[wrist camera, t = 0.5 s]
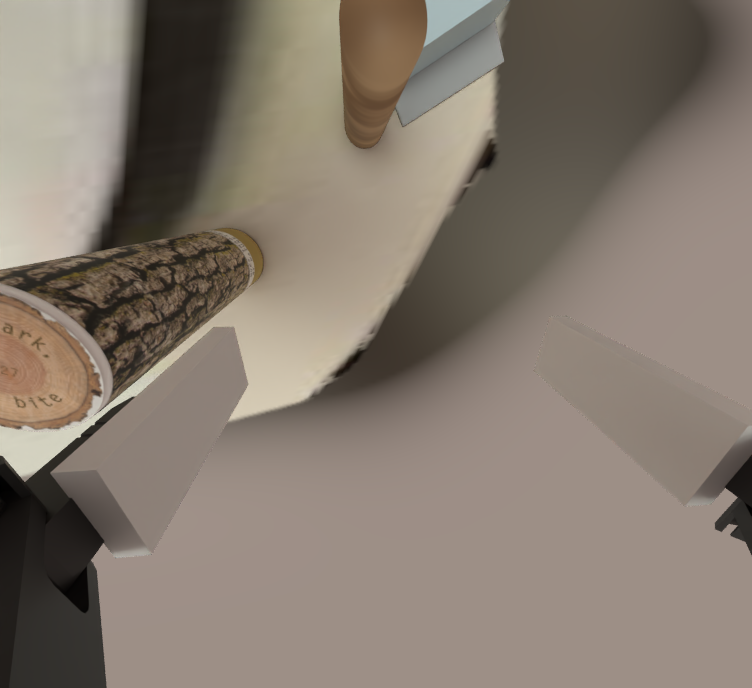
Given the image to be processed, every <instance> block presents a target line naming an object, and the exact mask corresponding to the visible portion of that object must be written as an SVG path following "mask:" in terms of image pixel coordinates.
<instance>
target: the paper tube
mask: <svg viewBox="0 0 752 688" xmlns="http://www.w3.org/2000/svg"><path fill="white" fill-rule="evenodd" d="M262 269H263V258H262V254H261V251H260V249H259V247H258V246H257V244H256V243H255V242H254V241H253V240H252V239H251V238H250V237H249V236H248V235H246V234H245V233H243V232H241V231H238V230H235V229H231V228H221V229H216V230H211V231H204V232H199V233H193V234H188V235H183V236H177V237H172V238H167V239H162V240H156V241H151V242H146V243H140V244H135V245H130V246H124V247H119V248H114V249H109V250H103V251H98V252H93V253H87V254H82V255H77V256H71V257H66V258H61V259H55V260H50V261H45V262H40V263H34V264H29V265H24V266H18V267H13V268H8V269H2V270H0V426H3V427H7V428H12V429H17V430H24V431H34V432H51V431H60V430H66V429H69V428H73V427H76V426H78V425H80V424H82V423H84V422H86V421H87V420H89V419H90V418H91V417H92V416H94V415H95V414H97V413H98V412H100V411H101V410H102V409H103V408H104V407H106V406H107V405H108V404H109V403H110V402H112V401H113V400H114V399H115V398H116V397H118V396H119V395H120V394H121V393H122V392H124V391H125V390H126V389H127V388H128V387H130V386H131V385H132V384H133V383H135V382H136V381H137V380H138V379H139V378H141V377H142V376H143V375H144V374H145V373H147V372H148V371H149V370H150V369H151V368H153V367H154V366H155V365H156V364H157V363H159V362H160V361H161V360H162V359H163V358H165V357H166V356H167V355H168V354H169V353H171V352H172V351H173V350H174V349H175V348H177V347H178V346H179V345H180V344H181V343H183V342H184V341H185V340H186V339H187V338H189V337H190V336H191V335H192V334H193V333H195V332H196V331H197V330H198V329H199V328H201V327H202V326H203V325H204V324H205V323H207V322H208V321H209V320H210V319H211V318H213V317H214V316H215V315H216V314H217V313H219V312H220V311H221V310H222V309H223V308H225V307H226V306H227V305H228V304H229V303H231V302H232V301H233V300H234V299H235V298H237V297H238V296H239V295H240V294H241V293H243V292H244V291H245V290H246V289H247V288H248V287H249V286H251V285H252V284H253V283H254V282H255V281H256V280H257V279H258V278H259V277H260V275H261V272H262Z"/></svg>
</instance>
